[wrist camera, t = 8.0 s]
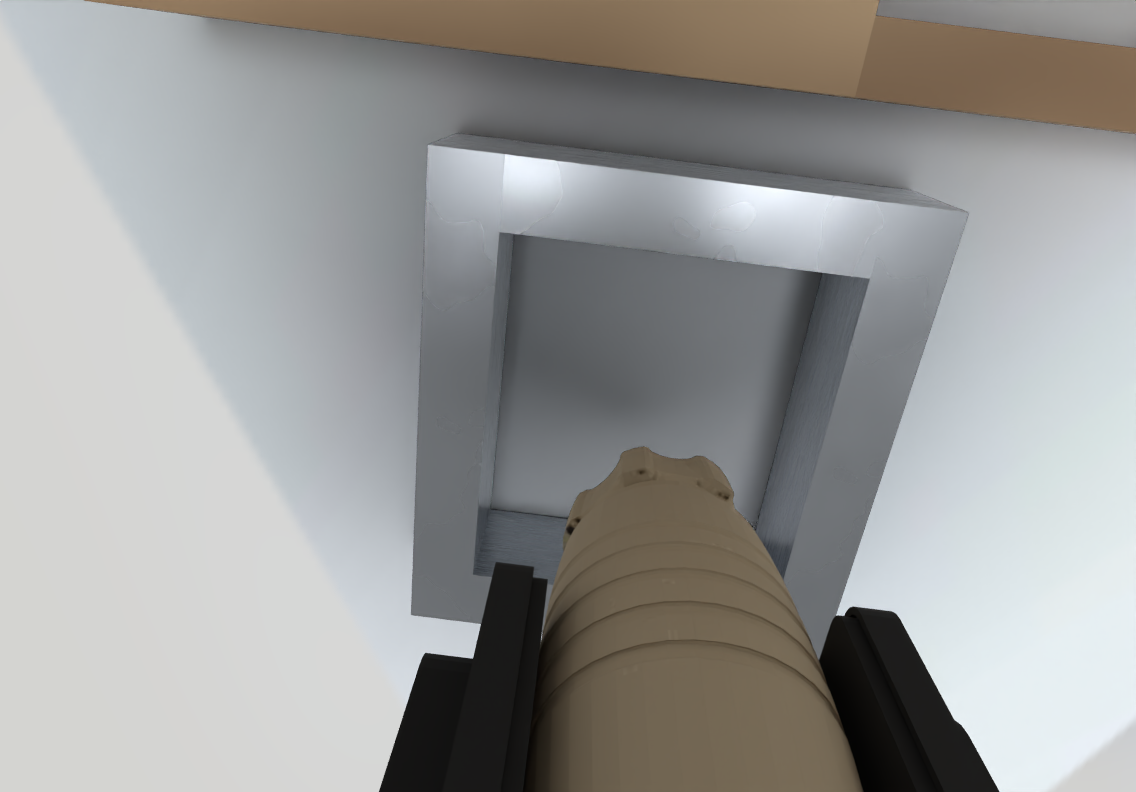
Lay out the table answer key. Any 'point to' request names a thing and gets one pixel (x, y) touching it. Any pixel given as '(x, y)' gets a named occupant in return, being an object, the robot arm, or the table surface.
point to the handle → (677, 650)
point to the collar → (685, 227)
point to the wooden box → (748, 48)
